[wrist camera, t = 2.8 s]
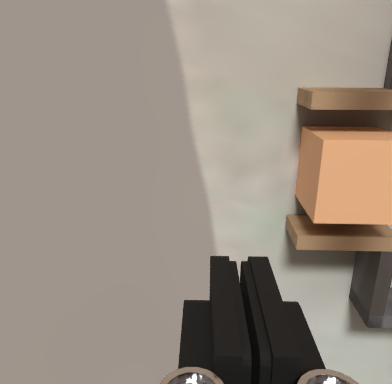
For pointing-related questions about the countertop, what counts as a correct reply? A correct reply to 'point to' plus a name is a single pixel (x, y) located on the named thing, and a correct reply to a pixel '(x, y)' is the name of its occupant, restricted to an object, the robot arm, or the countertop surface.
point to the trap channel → (353, 233)
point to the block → (345, 174)
